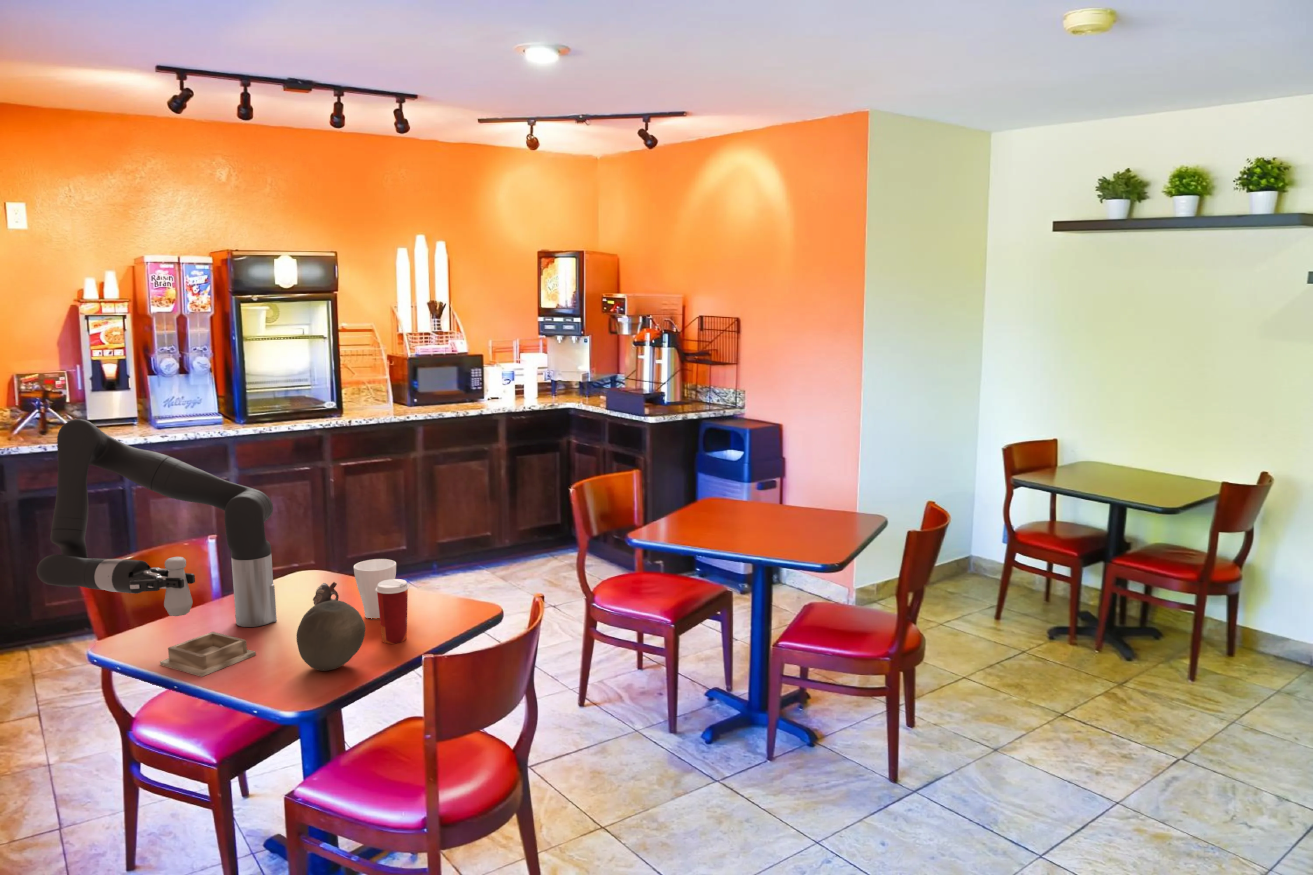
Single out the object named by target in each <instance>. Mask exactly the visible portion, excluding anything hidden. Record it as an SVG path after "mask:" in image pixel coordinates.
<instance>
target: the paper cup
mask: <svg viewBox="0 0 1313 875" xmlns="http://www.w3.org/2000/svg"><path fill="white" fill-rule="evenodd" d="M409 589H410V586H409V584H408V582H407V580H405V579H400V578H395V579H390V580H384V581H381V582H379V583H378V585H377V588H376V592H377V596H378V605H379V614H380V619H379V623H380V631H381V638H382V642H383V643H385V644H389V643H394V644H400V643H403V642H405V641H406V640H407V635H408V600H409V599H408V595H409V594H408V593H409V592H408V590H409Z"/></svg>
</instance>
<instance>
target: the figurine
mask: <svg viewBox="0 0 1313 875" xmlns="http://www.w3.org/2000/svg"><path fill="white" fill-rule="evenodd" d="M336 587H337V583H336V582H335V581H333V582H332V583H331V584H330V585H329V584H328V583H326V582H323V583H321V584H320V585H319V586H318V587H317V589H316V590H315V595H314V597H313V598H312V601H313V605H314V606H315V605H317V604H319V603H322V602H326V601H331V600H337V601H339V593H338V591H337V590H336ZM332 595H333V596H335V598H334V599H333V598H332Z"/></svg>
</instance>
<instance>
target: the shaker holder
mask: <svg viewBox="0 0 1313 875" xmlns="http://www.w3.org/2000/svg"><path fill="white" fill-rule="evenodd" d="M247 646H248V645H247V640H246V639H243V638H239V637H235V636H233V635H232V636H231V635H227V634H224V633H221V632H220V633H219V632H216V631H211V632H208V633H205V634H203V635H202V634H201V635H199V636H197V637H194V638H192V639H191V638H190V639H189V640H186V641H182V642H180V643H177V644H175V645H171V646H170V647H168V648H167V651H168V658H165V659H163V660H160V661H159V665H160V666H163V667H166V668H170V669H173V670H177V671H180V672H184V673H187V674H190V675H194V676H198V677H202V678H203V677H205V676H208V675H209V674H212V673H215V672H218V671H220V670H222V669H225V668H227V667H229V666H232V665H235V664H237V663H240V662H242V661H245V660H247V659H250V658H252V657H255V656H256V655H257V653H256V651H254V650H250V649H247V648H248V647H247Z"/></svg>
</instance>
